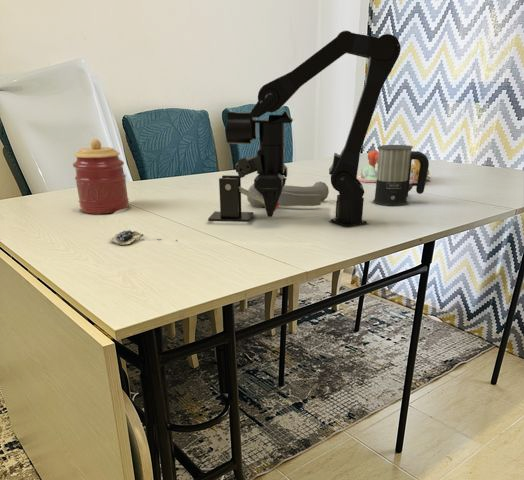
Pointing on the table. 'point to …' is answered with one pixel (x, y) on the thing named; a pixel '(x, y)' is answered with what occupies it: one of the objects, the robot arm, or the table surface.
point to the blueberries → (125, 237)
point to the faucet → (296, 195)
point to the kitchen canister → (100, 179)
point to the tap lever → (253, 195)
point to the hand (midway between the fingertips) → (271, 212)
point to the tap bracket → (230, 201)
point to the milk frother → (398, 174)
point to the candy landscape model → (369, 171)
